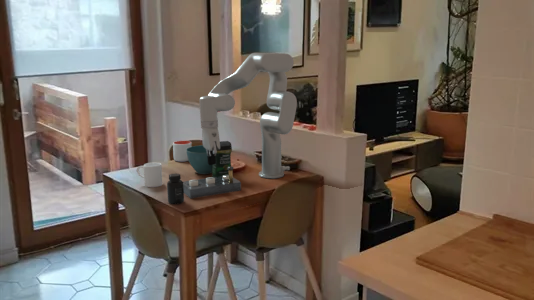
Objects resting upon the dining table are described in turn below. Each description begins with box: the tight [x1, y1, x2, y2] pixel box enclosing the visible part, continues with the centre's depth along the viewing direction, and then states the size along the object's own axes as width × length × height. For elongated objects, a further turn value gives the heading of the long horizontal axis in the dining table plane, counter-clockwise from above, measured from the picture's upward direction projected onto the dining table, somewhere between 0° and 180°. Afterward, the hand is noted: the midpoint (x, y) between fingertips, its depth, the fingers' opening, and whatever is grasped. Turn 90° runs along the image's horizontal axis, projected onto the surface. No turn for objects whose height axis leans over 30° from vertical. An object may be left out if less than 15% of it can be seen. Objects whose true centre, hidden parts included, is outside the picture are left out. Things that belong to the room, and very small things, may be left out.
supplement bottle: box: [166, 172, 185, 205], centre depth 220 cm, size 7×7×12 cm
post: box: [228, 165, 234, 183], centre depth 235 cm, size 3×3×7 cm
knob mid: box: [206, 176, 215, 184], centre depth 236 cm, size 4×4×5 cm
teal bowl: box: [186, 144, 213, 175], centre depth 266 cm, size 18×18×12 cm
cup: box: [172, 140, 192, 163], centre depth 290 cm, size 10×10×10 cm
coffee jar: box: [211, 140, 233, 177], centre depth 253 cm, size 10×8×19 cm
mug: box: [136, 161, 163, 188], centre depth 245 cm, size 8×12×10 cm
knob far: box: [188, 179, 198, 187], centre depth 233 cm, size 4×4×5 cm
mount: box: [183, 175, 242, 199], centre depth 236 cm, size 24×13×6 cm, turn 118°
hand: (211, 164), depth 235 cm, fingers closed
